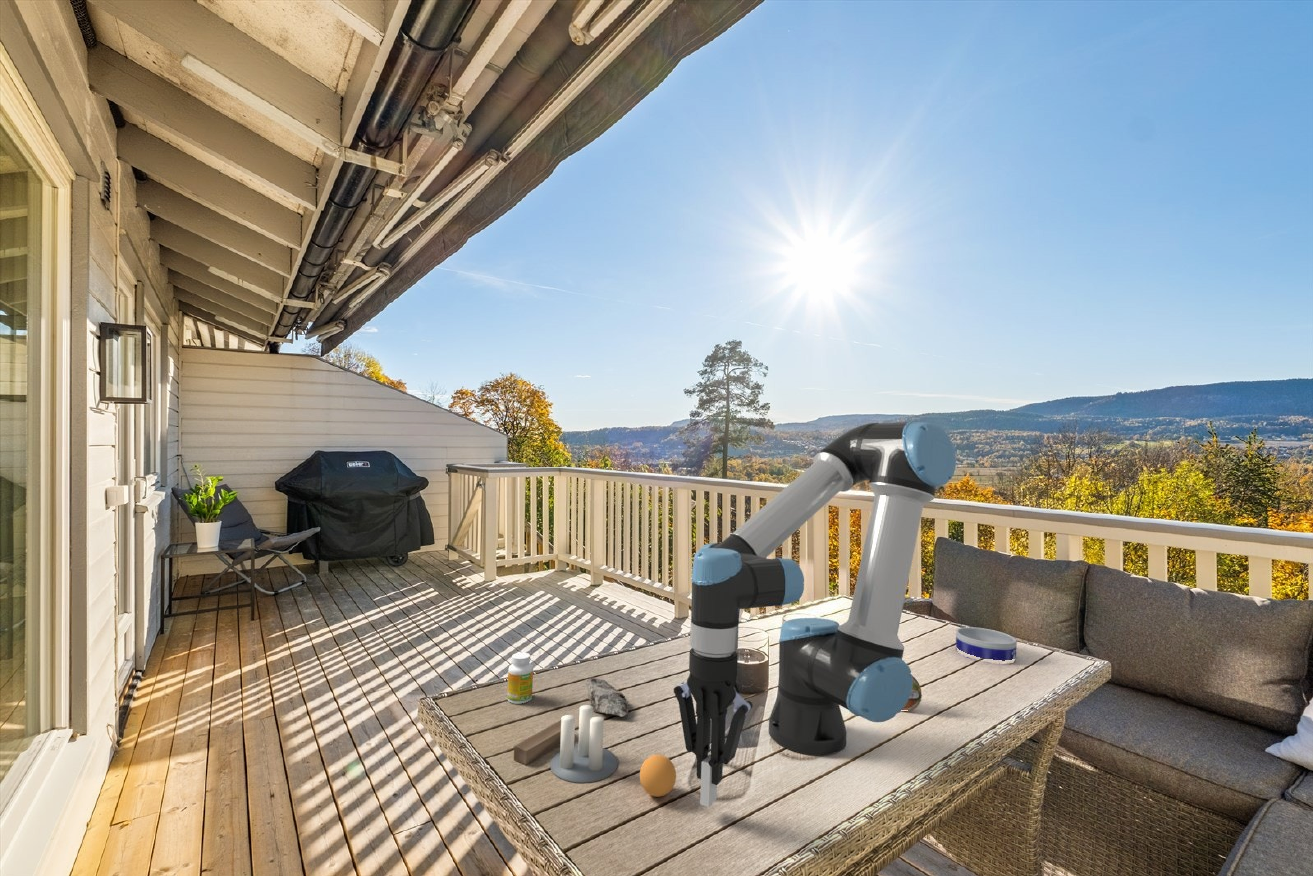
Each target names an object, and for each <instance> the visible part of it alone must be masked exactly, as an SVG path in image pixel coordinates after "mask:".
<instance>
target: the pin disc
mask: <svg viewBox="0 0 1313 876" xmlns="http://www.w3.org/2000/svg"><path fill="white" fill-rule="evenodd" d="M549 764H550V770H551V772H552V774H553V775H554V776H556V777H557V778H559V779H560V780H562V781H566V782H569V783H576V784H588V783H594V782H599V781H602V780H605V779H606V778H609V777H610V776H611V775H613V774H614V773H615V772H616V771H617V768H618V767H619V766H618V765H619V761H618V758H617V756H616V754H615V753H614V752H612V751H611V750H609V749H607V748H604V747H603V756H602V769H600V770H598V771H592V770H590V769H589V756H586V757H583V756H580V755H578V745H576V746H575V745H574V761H573V767H571V768H569V769H563V768H561V767H560V751H559V752H557V753H556V754H555V755H554V756H553V757H552V758H551V760H550V763H549Z"/></svg>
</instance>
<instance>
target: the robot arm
mask: <svg viewBox="0 0 1313 876" xmlns="http://www.w3.org/2000/svg"><path fill="white" fill-rule="evenodd" d="M956 454H957V453H956V449H955V446H954V443H953V442H952V440H951V437H950V435H949V434H948V432H946V430H945V429H943V428H942V427H941V426H940V425H938V424H936V423H933V422H927V421H926V422H921V421H916V420H912V421H909V422H873V423H871V422H869V423H865V424H862V425H861V424H860V425H858V426H857V427H854V428H852V429H850V430H848V431H846V432H844V433H843V434H842V435H840V436H838V437H836V439H834V440H832V441H831V442H830V443H828V444H827V445H826V446H824V447H823V448H822V449H821V450H820V451H818V453H817V454H815V455H814V457H813V461H812V463H813V464H812V465H810V466H809V467H808V468H807V469H806V470H805V471H803V472H802V473H801V474H800V475H799V476H798V477H796V478H795V479H794V480H793V481H792V482H790V483H789V484H788V485H787V486H786V487H785V488H783V489H782V490H781V491H780V492H778V494H776V496H774V497H773V498H772V499H771V500H769V502H768V503H766V504H765V505H764V506H762V508H760V509H759V510H757V512H756V513H754V514H753V515H752V516H751V517H749V518H748V519H747V520H746V521H745V522H743V524H741V525H740V526H739V527H738V528H737V529H736V530H734V531H733V532H732V533H731V534H730V535H729V536H727V538H725V539H724V540H723V541H722V542H721V543H719V542H714V543H713V542H712V543H709V542H708V543H707V544H704V545H702V546H701V547H700V548H699V550H697V552H695V554H694V557H693V562H692V573H691V604H690V605H691V607H690V608H691V611H690V613H691V616H690V631H689V632H690V633H689V646H690V647H691V648H690V649H689V662H688V671H689V675H688V677H687V679H686V682H681V683H680V684H678V685H677V686H675V687H673V693H674V696H675V698H676V700H677V703H678V707H679V708H678V709H679V713H680V720H681V727H682V733H683V738H684V743H685V744H684V745H685V748H686V751H687V752H689V753H692V754H694V755H695V758H696V774H695V775H696V777H697V779H699V780H700V793H699V795H700V797H699V798H700V800H699V804H700V805H702V806H704V807H706V808H710V807H711V806H712V804H714V802H715V801H716V800H717V797H718V785H719V784H720V783H721V782H722V780H723V769H724V768H723V767H724V765H726V766H727V765H728V764H729V763H730V762H731V761H732V760H733V759H734V758H735V757H736V754H737V750H738V746H739V743H740V739H741V734H742V732H743V729H744V724H745V720H746V717H747V715H748V714H749V712H750V711H751V710H752V709H753V706H754V705H753V702H752V701H751V700H745V699H744V698H743V697H742V696H741V694H740V689H739V686H738V684H737V677H738V662H739V661H738V658H739V655H738V653H737V650H738V649H739V648H738V647H739V623H740V613H741V610H747V609H755V608H756V609H758V608H766V607H769V608H770V607H782V606H785V605H791V604H795V603H796V602H798V601H799V600H800V599H801V597H802V596H803V594H804V591H805V577H804V573H803V571H802V568H801V567H800V565H799V564H798V563H797V562H796V561H795V560H793V559H791V558H781V557H776V558H768V557H769V556H770V555H771V554H773V552H774V551H776V549H778V548H779V547H780V546H781V545H782V544H783V543H784V542H785V541H786V540H787V539H788V538H790V537H791V536H792V535H793V534H794V533H795V532H797V531H798V530H799V529H800V528H801V527H803V525H804V524H806V522H807V521H809V520H810V519H811V518H812V517H813V516H814V515H816V513H818V512H819V511H820V509H822V508H823V507H824V506H825V505H826V504H827V503H829V502H830V501H831V500H832V499H833V498H834V497H835V496H836V495H838V493H840V492H844V493H845V492H848V491H849V490H851V489H852V488H853V487H854V486H855V485H857V484H859V483H862V482H866V481H868V487H869V489H870V490H871V491H872V492H873V495H874V499H873V503H872V508H871V512H870V517H869V521H868V522H869V523H868V526H867V531H866V534H865V535H866V536H865V540H864V545H863V548H862V554H861V560H860V563H859V567H858V573H857V579H856V582H855V587H854V592H853V596H852V600H851V601H852V602H851V606H850V610H849V616H848V619H847V620H846V622H844V623H843V624H840V623H839V622H837V621H836V620H833V619H828V618H820V617H819V618H818V617H801V618H793V619H792V618H791V619H789V620H786V621H784V622H783V624H781V626H780V636H779V639H778V643H779V645H778V646H779V647H778V650H779V651H778V654H779V655H778V691H777V692H778V693H777V697H776V699H775V702H774V704H773V706H772V710H771V712H770V715H769V719H768V734H769V736H770V738H771V740H772V741H774V742H775V743H776V744H778V745H780V746H781V747H783V748H785V749H787V750H790V751H792V752H797V753H801V754H805V755H810V756H811V755H812V756H825V755H826V756H827V755H834V754H836V753H839V752H841V751H842V750H843V749H845V747H846V745H847V732H848V731H847V728H846V724H845V721H844V717H843V713H842V710H841V707H842V708H844V709H846V710H848V712H849V713H851V714H853V715H854V716H855V717H861V718H863V719H865V720H868V721H869V722H873V723H883V722H888V721H890V720H892V719H893V718H895V716H896V715H897V714H898V713H900V712H902V711H901V710H902V709H903V708H904V706H905V705H906V703H907V701H908V699H909V697H910V694H911V691H912V686H913V677H914V675H912V671H911V667H910V666H909V665H908V664H907V663H906V662H905V660H903V656H904V651H905V647H904V644H903V643H902V641H901V640H900V638H899V636H898V633H899V628H900V622H901V618H902V614H903V608H904V604H905V598H906V594H907V589H908V584H909V583H908V582H909V579H910V574H911V569H912V564H913V558H914V554H915V549H916V548H915V547H916V544H917V538H918V534H919V528H920V524H921V519H922V515H923V509H924V506H925V505H926V504H928V503H929V502H932V501H933V500H934V499H935V496H936V490H937V488H939V487H942V486H944V485H947V484H948V483H949V481H950V480H951V479H952V478H953V476H954V474H955V471H956V465H957V455H956ZM694 701H695V704H694ZM732 703H733V712H734V714H733V716H732V717H731V722H730V725H729V728H728V732H727V736H726V723H727V721H726V718H727V717H726V716H727V714H728V708H729V707H730V706H731V705H732ZM694 705H695V706H694ZM709 753H710V754H709Z"/></svg>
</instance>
